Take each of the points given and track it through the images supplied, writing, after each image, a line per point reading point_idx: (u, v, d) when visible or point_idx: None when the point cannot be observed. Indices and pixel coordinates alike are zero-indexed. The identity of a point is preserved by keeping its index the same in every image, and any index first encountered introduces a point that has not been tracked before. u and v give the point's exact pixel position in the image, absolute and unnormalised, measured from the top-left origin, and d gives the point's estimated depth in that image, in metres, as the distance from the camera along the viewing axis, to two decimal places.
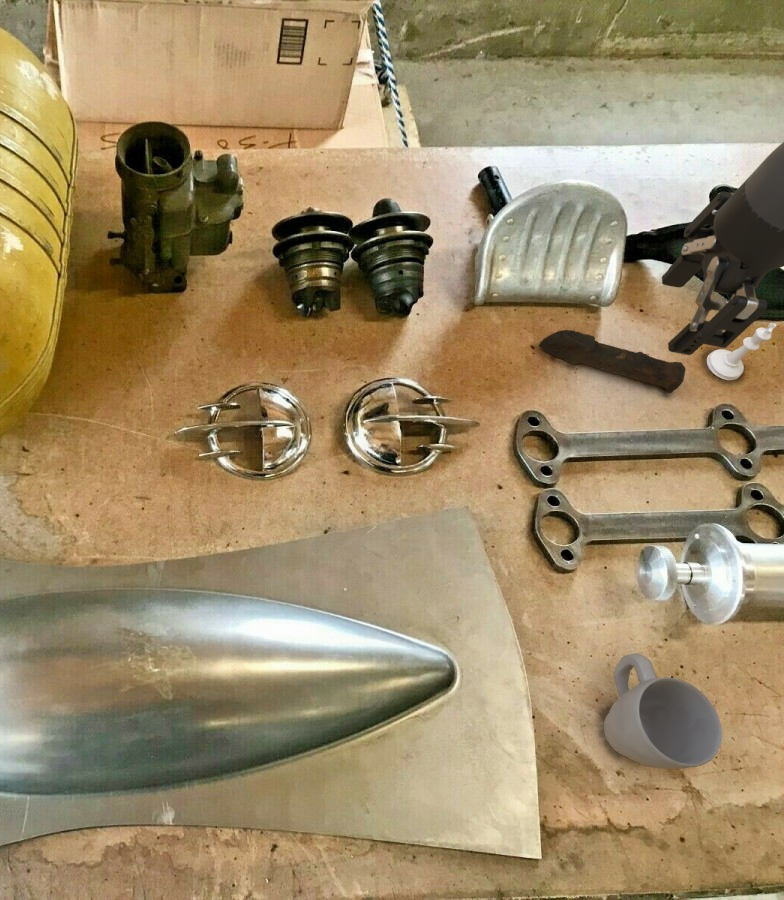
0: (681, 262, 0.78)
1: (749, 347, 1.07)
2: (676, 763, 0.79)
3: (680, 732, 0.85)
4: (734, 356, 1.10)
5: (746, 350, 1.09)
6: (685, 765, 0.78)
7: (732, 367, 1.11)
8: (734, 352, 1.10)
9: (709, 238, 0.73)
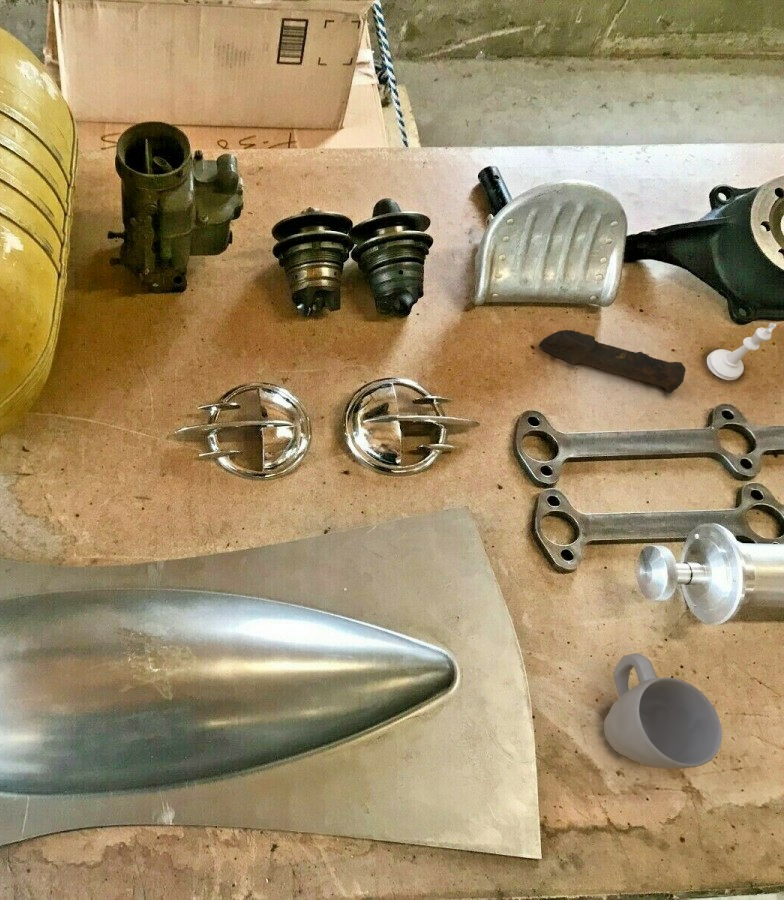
0: None
1: (749, 347, 1.07)
2: (676, 763, 0.79)
3: (680, 732, 0.85)
4: (734, 356, 1.10)
5: (746, 350, 1.09)
6: (685, 765, 0.78)
7: (732, 367, 1.11)
8: (734, 352, 1.10)
9: None
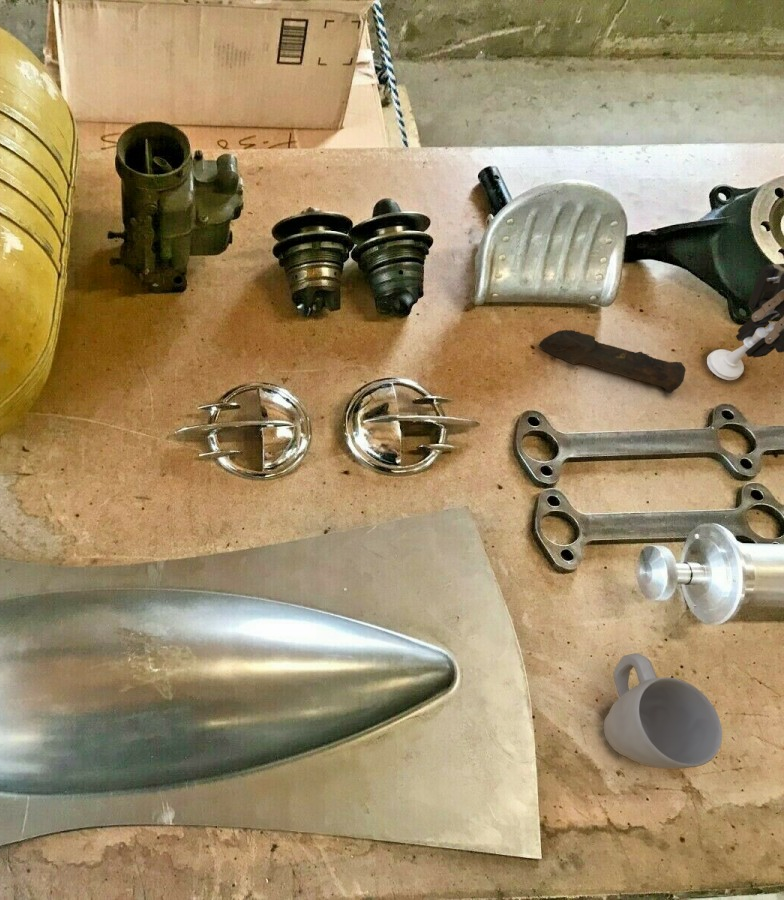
0: (754, 326, 1.06)
1: (749, 347, 1.07)
2: (676, 763, 0.79)
3: (680, 732, 0.85)
4: (734, 356, 1.10)
5: (746, 350, 1.09)
6: (685, 765, 0.78)
7: (732, 367, 1.11)
8: (734, 352, 1.10)
9: (779, 293, 1.00)
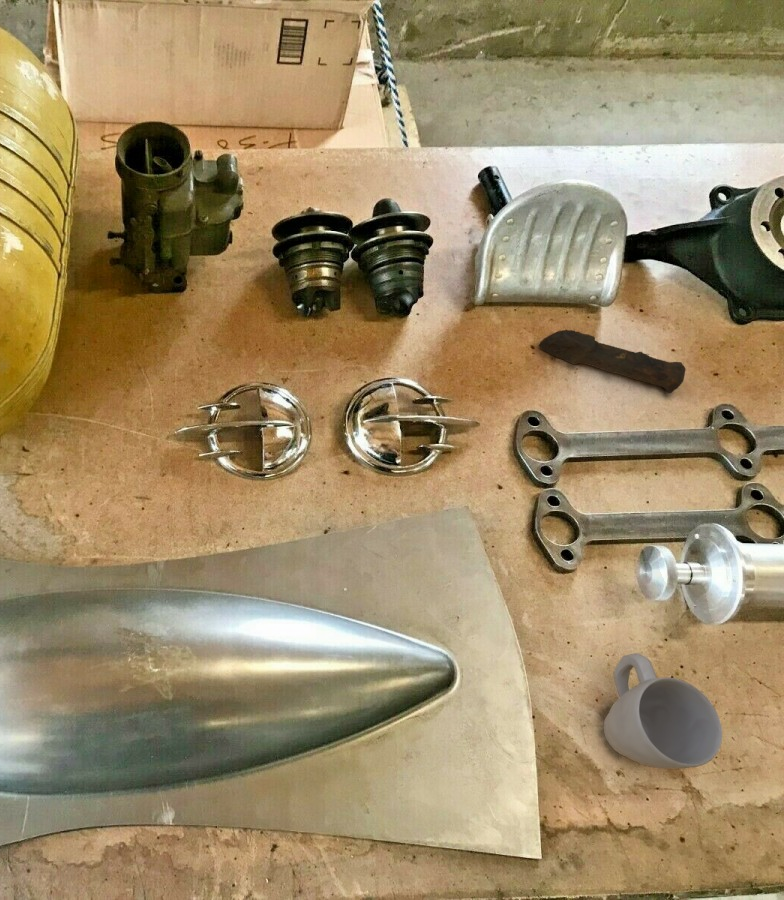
0: None
1: None
2: (676, 763, 0.79)
3: (680, 732, 0.85)
4: None
5: None
6: (685, 765, 0.78)
7: None
8: None
9: None
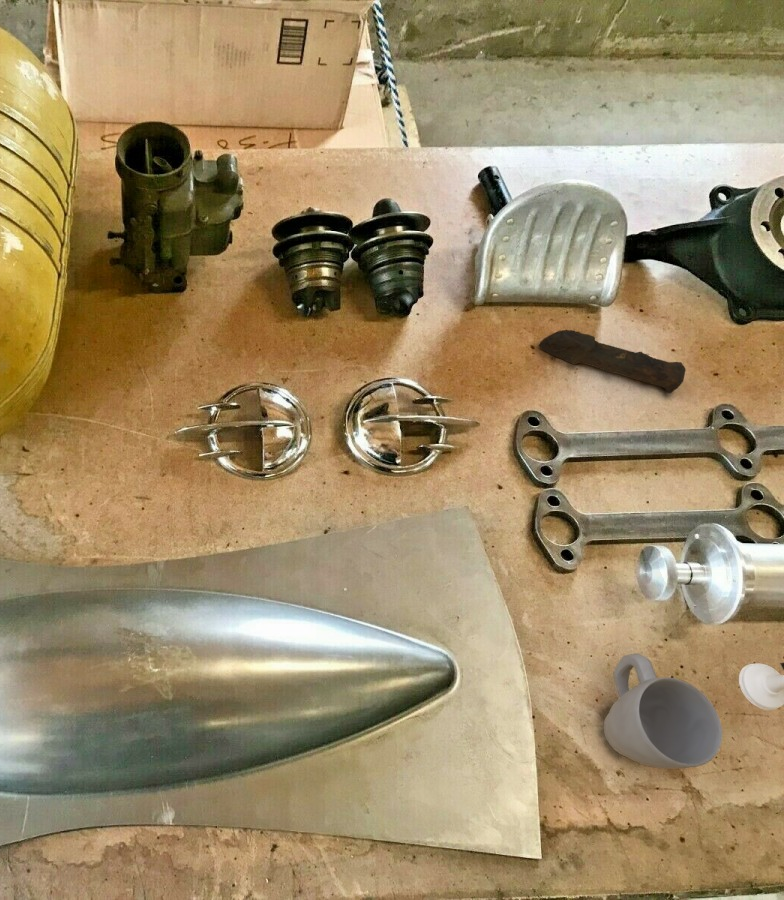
0: None
1: None
2: (676, 763, 0.79)
3: (680, 732, 0.85)
4: (777, 685, 0.83)
5: None
6: (685, 765, 0.78)
7: (773, 695, 0.84)
8: (777, 680, 0.83)
9: None
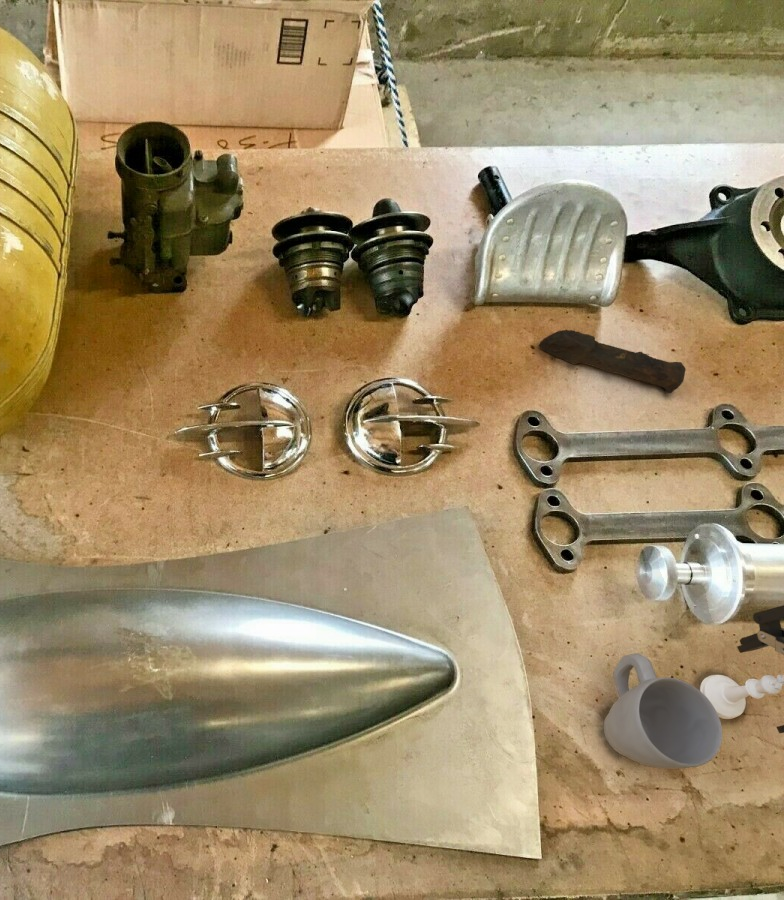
0: (760, 646, 0.84)
1: (753, 695, 0.86)
2: (676, 763, 0.79)
3: (680, 732, 0.85)
4: (734, 695, 0.89)
5: (749, 694, 0.87)
6: (685, 765, 0.78)
7: (731, 704, 0.90)
8: (734, 690, 0.89)
9: None
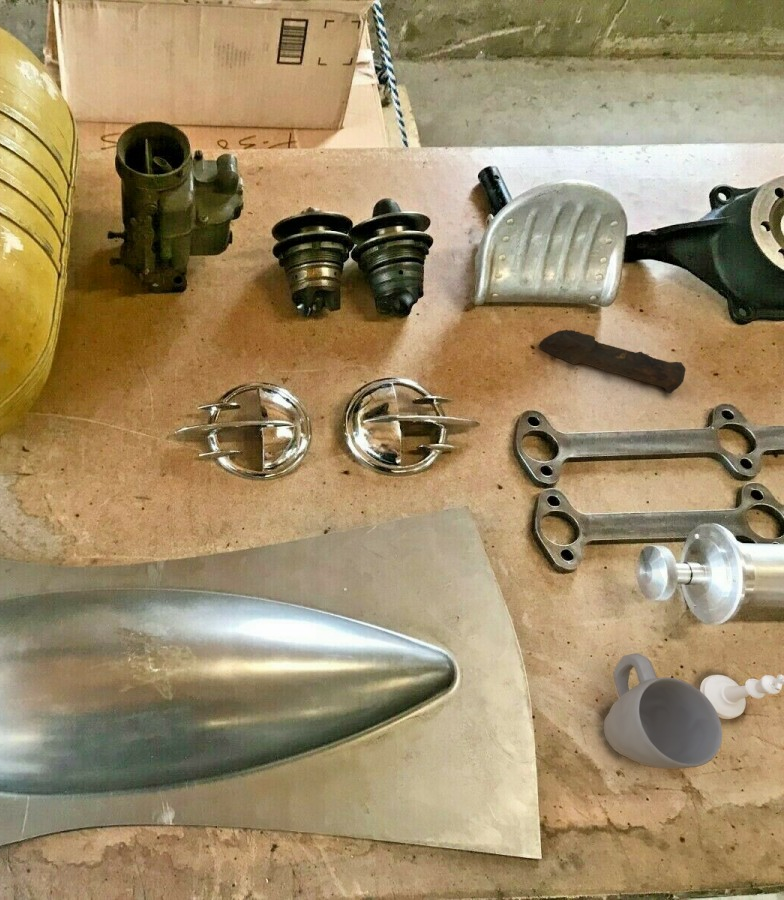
0: None
1: (753, 695, 0.86)
2: (676, 763, 0.79)
3: (680, 732, 0.85)
4: (734, 695, 0.89)
5: (749, 694, 0.87)
6: (685, 765, 0.78)
7: (731, 704, 0.90)
8: (734, 690, 0.89)
9: None
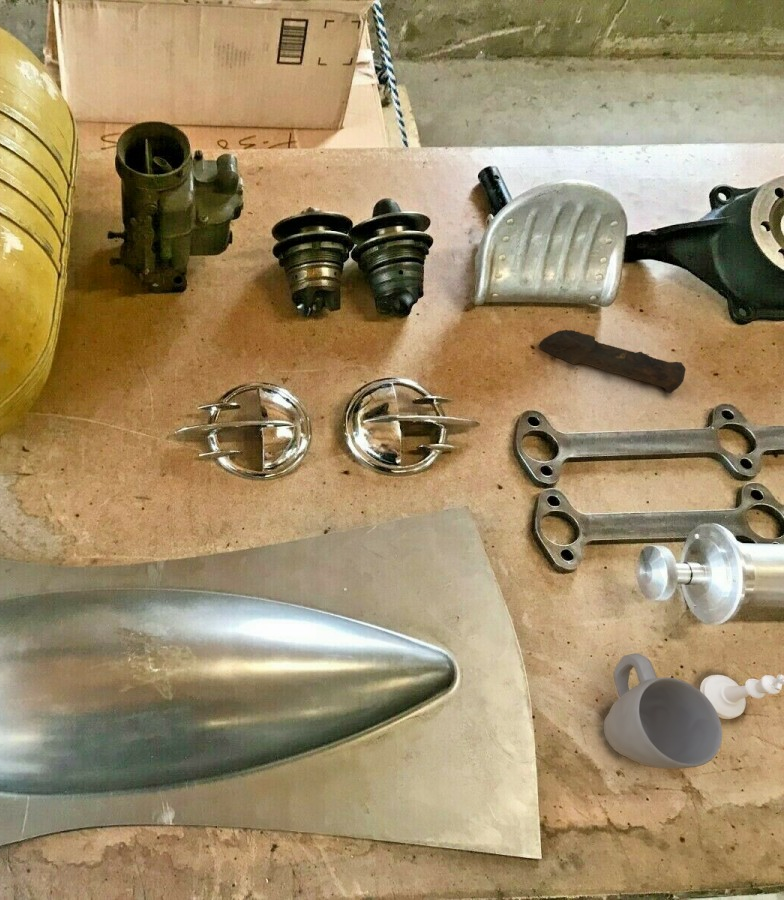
0: None
1: (753, 695, 0.86)
2: (676, 763, 0.79)
3: (680, 732, 0.85)
4: (734, 695, 0.89)
5: (749, 694, 0.87)
6: (685, 765, 0.78)
7: (731, 704, 0.90)
8: (734, 690, 0.89)
9: None
